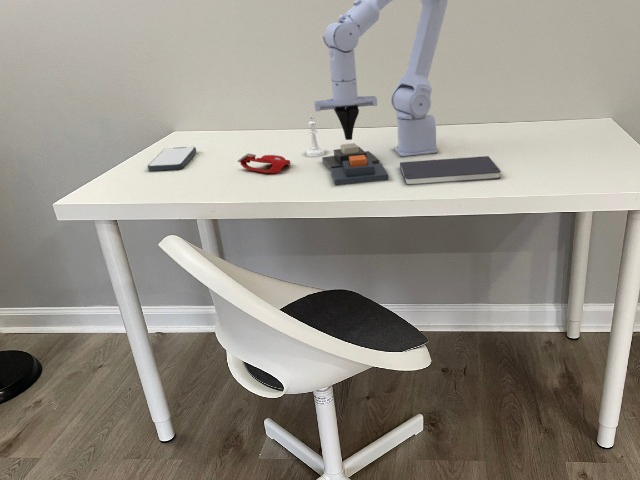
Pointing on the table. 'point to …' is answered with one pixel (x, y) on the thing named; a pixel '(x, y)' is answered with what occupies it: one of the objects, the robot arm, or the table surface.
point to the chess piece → (314, 140)
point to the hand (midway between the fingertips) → (348, 138)
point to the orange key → (357, 160)
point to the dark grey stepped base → (345, 158)
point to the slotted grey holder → (358, 173)
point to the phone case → (172, 159)
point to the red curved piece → (273, 159)
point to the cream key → (349, 148)
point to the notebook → (449, 170)
